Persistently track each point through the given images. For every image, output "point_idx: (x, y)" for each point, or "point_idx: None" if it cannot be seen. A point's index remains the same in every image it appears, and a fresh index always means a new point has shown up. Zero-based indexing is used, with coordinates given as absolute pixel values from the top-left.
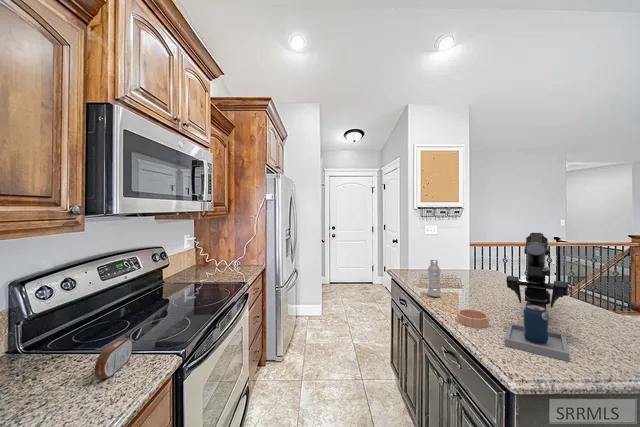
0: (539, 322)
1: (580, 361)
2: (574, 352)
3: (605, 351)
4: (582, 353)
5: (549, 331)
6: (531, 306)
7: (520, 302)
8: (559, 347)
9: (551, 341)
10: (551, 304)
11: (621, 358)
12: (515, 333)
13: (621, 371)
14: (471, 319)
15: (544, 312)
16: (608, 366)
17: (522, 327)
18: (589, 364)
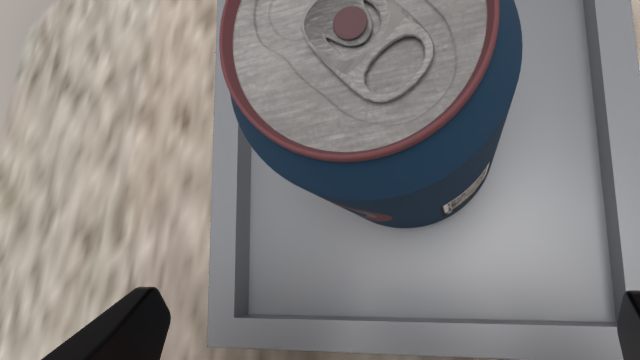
0: None
1: (190, 49)
2: (203, 162)
3: (57, 302)
4: (167, 178)
5: (308, 344)
6: (414, 96)
7: (630, 302)
8: None
9: (308, 209)
10: (125, 306)
11: (13, 243)
12: (567, 202)
13: (53, 65)
14: None
15: None
16: (87, 84)
17: (526, 324)
18: (158, 42)
